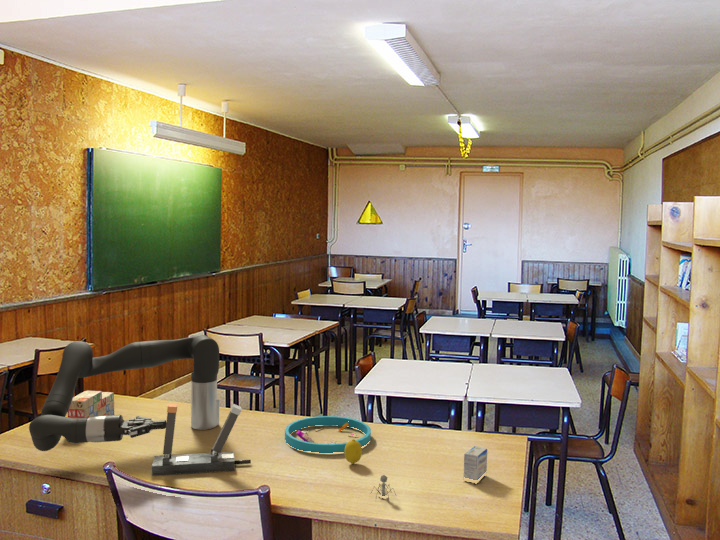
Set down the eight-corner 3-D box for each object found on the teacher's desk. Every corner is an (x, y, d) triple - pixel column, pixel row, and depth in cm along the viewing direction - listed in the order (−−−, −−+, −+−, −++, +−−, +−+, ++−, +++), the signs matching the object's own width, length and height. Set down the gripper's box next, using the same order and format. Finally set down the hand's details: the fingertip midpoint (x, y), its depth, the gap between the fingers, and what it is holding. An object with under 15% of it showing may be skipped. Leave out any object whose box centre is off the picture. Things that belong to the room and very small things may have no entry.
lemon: (363, 462, 200) (364, 437, 199) (358, 468, 195) (358, 443, 194) (347, 459, 202) (348, 435, 201) (341, 466, 196) (342, 441, 196)
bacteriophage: (364, 499, 174) (365, 476, 173) (381, 489, 180) (382, 467, 180) (385, 507, 170) (385, 482, 169) (401, 497, 176) (402, 473, 175)
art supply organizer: (267, 439, 219) (267, 423, 219) (328, 420, 241) (329, 405, 241) (327, 464, 199) (327, 446, 198) (388, 440, 221) (388, 424, 220)
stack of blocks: (99, 415, 241) (98, 383, 240) (114, 416, 240) (114, 384, 239) (67, 434, 219) (67, 399, 218) (84, 435, 219) (84, 400, 218)
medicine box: (477, 485, 184) (478, 456, 184) (462, 481, 187) (464, 453, 186) (486, 476, 191) (487, 448, 190) (473, 472, 193) (474, 445, 193)
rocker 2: (209, 457, 191) (233, 407, 191) (209, 452, 195) (233, 403, 195) (217, 460, 191) (241, 410, 192) (217, 455, 196) (241, 406, 196)
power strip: (151, 476, 186) (151, 460, 185) (154, 465, 193) (154, 450, 193) (251, 469, 192) (251, 454, 192) (250, 459, 200) (250, 445, 199)
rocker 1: (161, 462, 188) (167, 407, 187) (162, 456, 192) (168, 402, 191) (170, 462, 188) (176, 407, 187) (171, 456, 193) (177, 403, 192)
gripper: (109, 433, 192) (168, 429, 195) (100, 449, 179) (164, 444, 182) (108, 409, 191) (167, 405, 194) (99, 423, 178) (163, 419, 181)
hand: (166, 424), depth 188 cm, fingers closed
